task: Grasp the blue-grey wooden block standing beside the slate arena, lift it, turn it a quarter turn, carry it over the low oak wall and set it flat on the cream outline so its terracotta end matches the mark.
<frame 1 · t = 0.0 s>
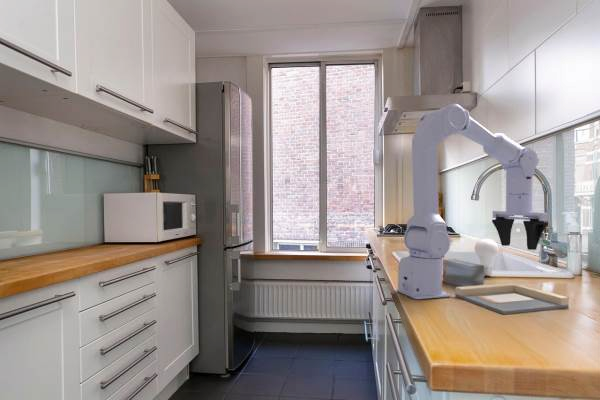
hand: (518, 247, 89), 10 cm above the worktop, tool pointing down, fingers open, 7 cm apart
lightbulb: (486, 276, 101), on the worktop
painted block: (462, 285, 90), on the worktop
arena: (509, 301, 75), on the worktop
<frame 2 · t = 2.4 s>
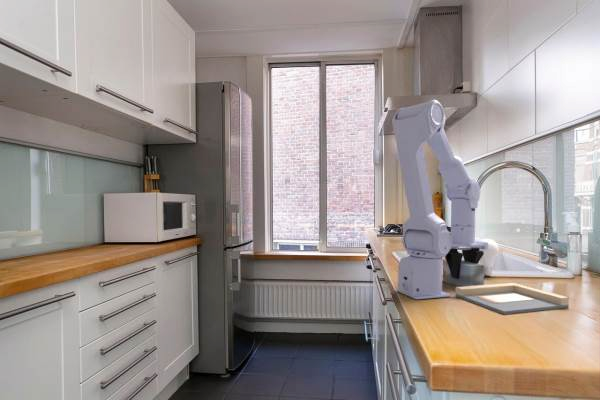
hand: (462, 277, 90), 2 cm above the worktop, tool pointing down, fingers closed on painted block, 4 cm apart
painted block: (462, 284, 90), on the worktop, touching gripper
everything else where it was.
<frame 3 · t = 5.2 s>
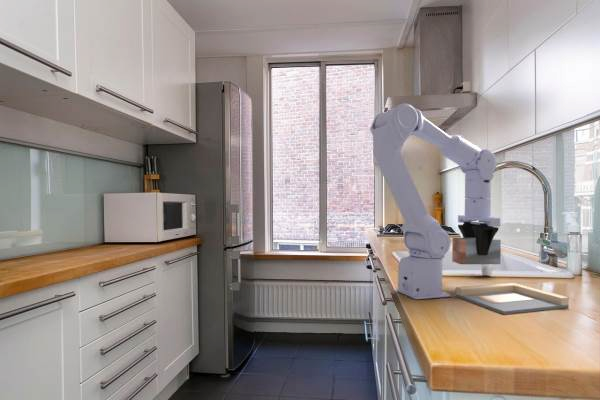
hand: (476, 253, 85), 9 cm above the worktop, tool pointing down, fingers closed on painted block, 4 cm apart
painted block: (475, 262, 85), point 7 cm above the worktop, touching gripper
everything else where it was.
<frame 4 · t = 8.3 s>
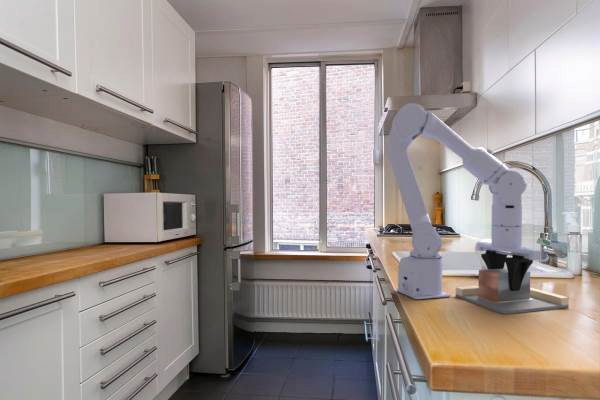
hand: (505, 287, 75), 3 cm above the worktop, tool pointing down, fingers closed on painted block, 4 cm apart
painted block: (504, 298, 75), point 1 cm above the worktop, touching arena, gripper
everything else where it was.
when the fingers open (3 cm above the worktop, at t = 8.5 s): painted block stays where it is, resting on arena.
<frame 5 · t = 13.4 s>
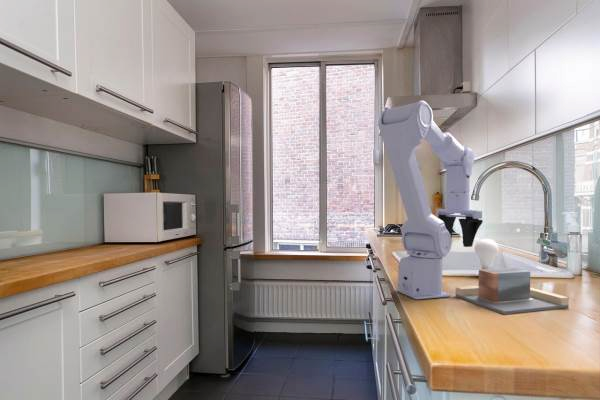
hand: (456, 244, 91), 10 cm above the worktop, tool pointing down, fingers open, 7 cm apart
painted block: (504, 298, 75), point 1 cm above the worktop, touching arena
everything else where it was.
at the end: painted block 0.4 cm from the target spot, point 0.7 cm above the worktop; painted block tilted 0°; the gripper is holding nothing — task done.
